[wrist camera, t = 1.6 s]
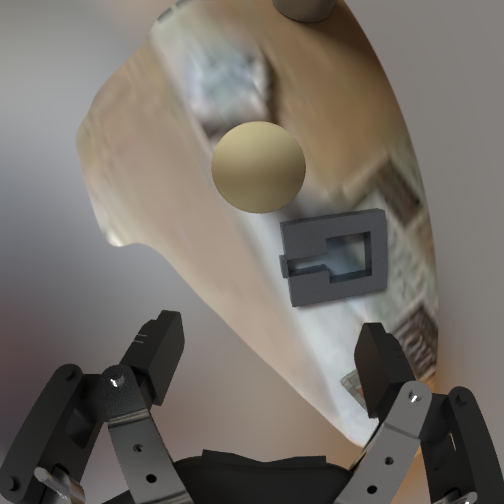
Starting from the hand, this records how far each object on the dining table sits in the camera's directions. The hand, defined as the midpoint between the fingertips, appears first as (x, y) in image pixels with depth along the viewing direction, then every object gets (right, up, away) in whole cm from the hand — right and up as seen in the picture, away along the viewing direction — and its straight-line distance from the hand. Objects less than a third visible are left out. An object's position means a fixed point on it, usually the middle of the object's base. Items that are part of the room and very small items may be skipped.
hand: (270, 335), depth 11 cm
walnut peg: (-1, +14, +23) cm, 27 cm away
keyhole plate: (+11, +3, +26) cm, 29 cm away
